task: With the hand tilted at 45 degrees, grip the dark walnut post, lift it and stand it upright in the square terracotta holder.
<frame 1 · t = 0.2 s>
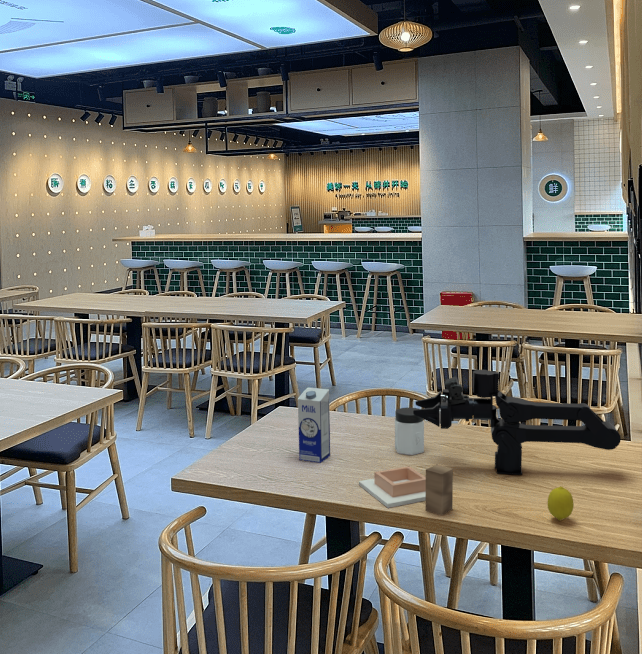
hand: (414, 407, 193), 17 cm above the table, tool horizontal, fingers open, 9 cm apart
jar: (409, 451, 208), on the table
lemon: (559, 521, 159), on the table
terracotta holder: (401, 490, 178), on the table
walnut post: (438, 509, 166), on the table
milk carton: (314, 458, 203), on the table
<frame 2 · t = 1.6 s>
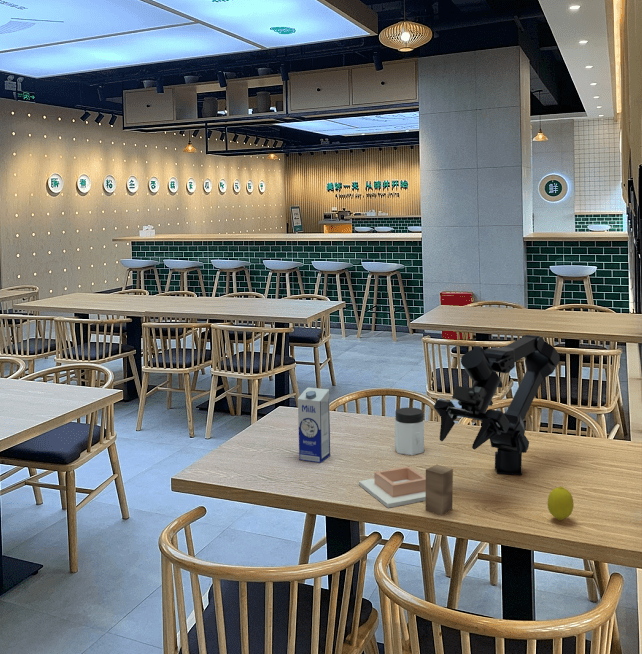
hand: (456, 444, 170), 14 cm above the table, tool tilted 45°, fingers open, 9 cm apart
nothing on the table moved.
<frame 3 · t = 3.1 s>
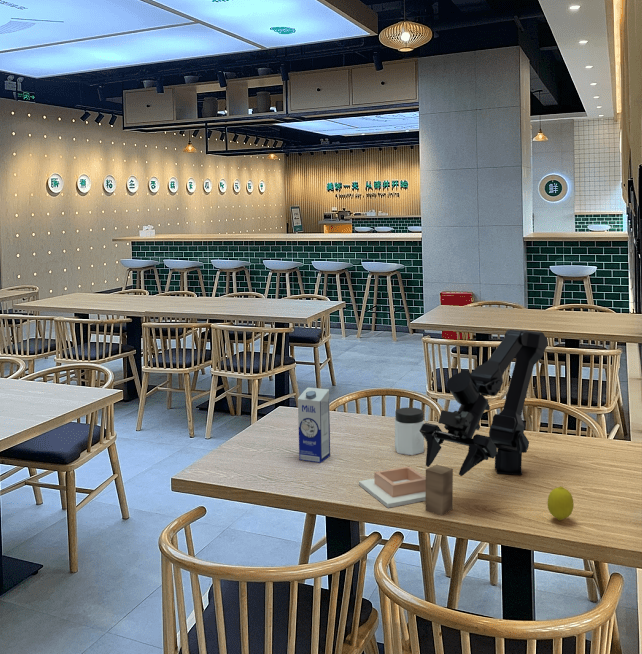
hand: (443, 470, 166), 9 cm above the table, tool tilted 45°, fingers open, 9 cm apart
nothing on the table moved.
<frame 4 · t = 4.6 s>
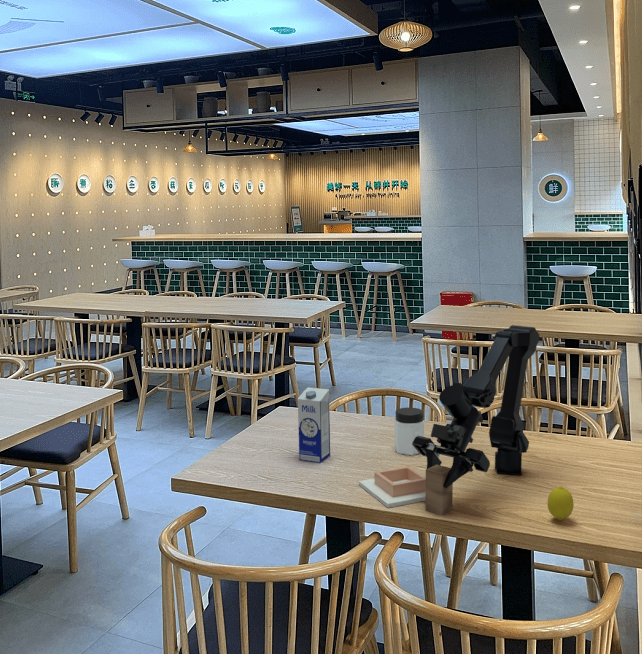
hand: (435, 484, 164), 7 cm above the table, tool tilted 45°, fingers closed on walnut post, 4 cm apart
walnut post: (438, 509, 166), on the table, touching gripper
everything else where it was.
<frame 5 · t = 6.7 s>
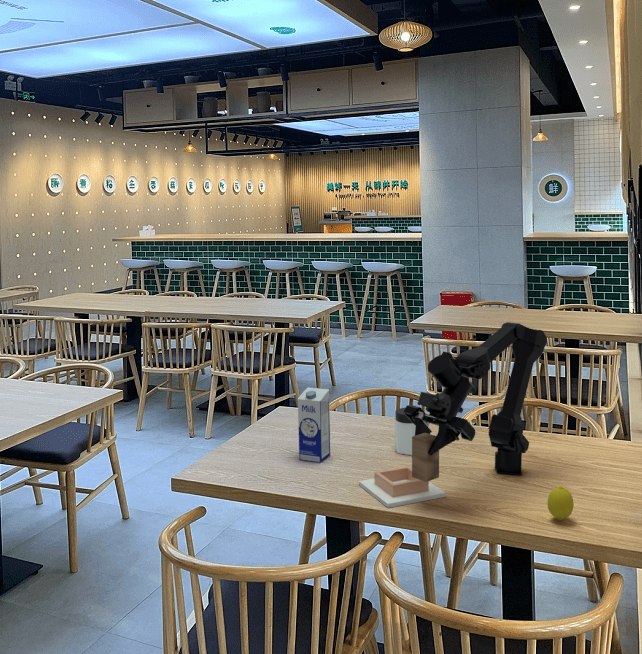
hand: (421, 451, 166), 13 cm above the table, tool tilted 45°, fingers closed on walnut post, 4 cm apart
walnut post: (425, 477, 168), point 7 cm above the table, touching gripper
everything else where it was.
when the fingers open (8 cm above the table, at t = 9.1 s): walnut post stays where it is, resting on terracotta holder.
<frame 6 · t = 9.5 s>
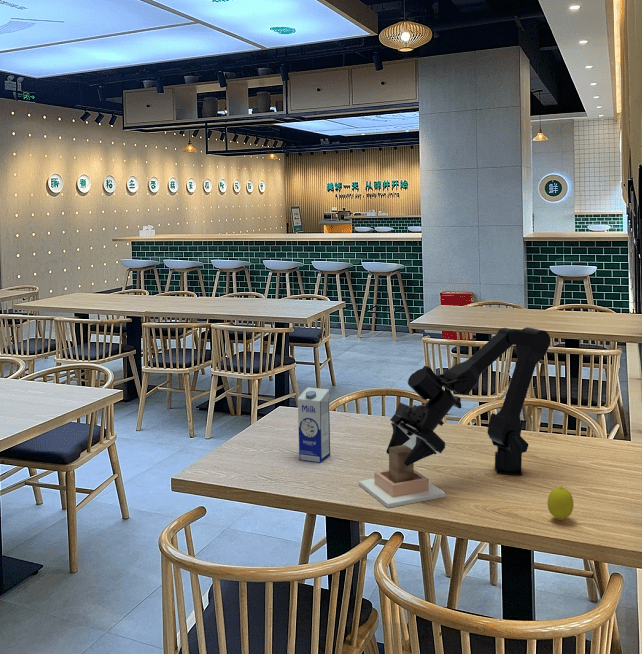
hand: (396, 458, 176), 9 cm above the table, tool tilted 45°, fingers open, 9 cm apart
walnut post: (401, 486, 178), point 1 cm above the table, touching terracotta holder
everything else where it was.
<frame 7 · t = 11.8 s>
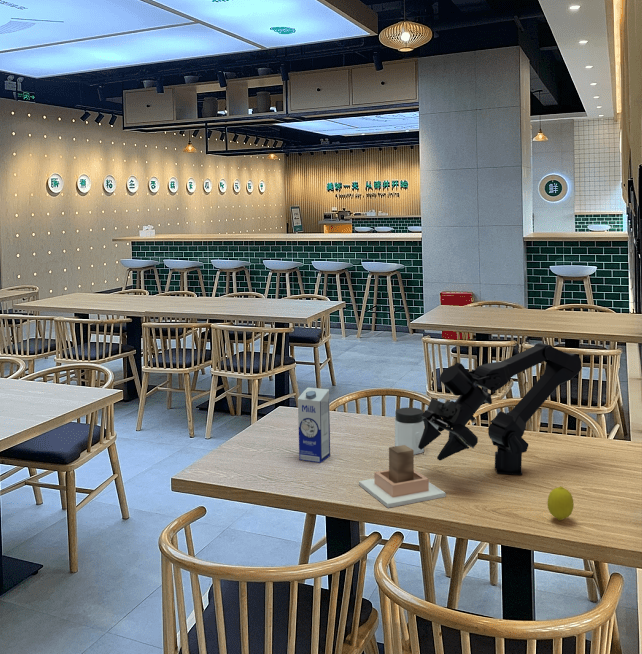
hand: (428, 453, 180), 8 cm above the table, tool tilted 45°, fingers open, 9 cm apart
nothing on the table moved.
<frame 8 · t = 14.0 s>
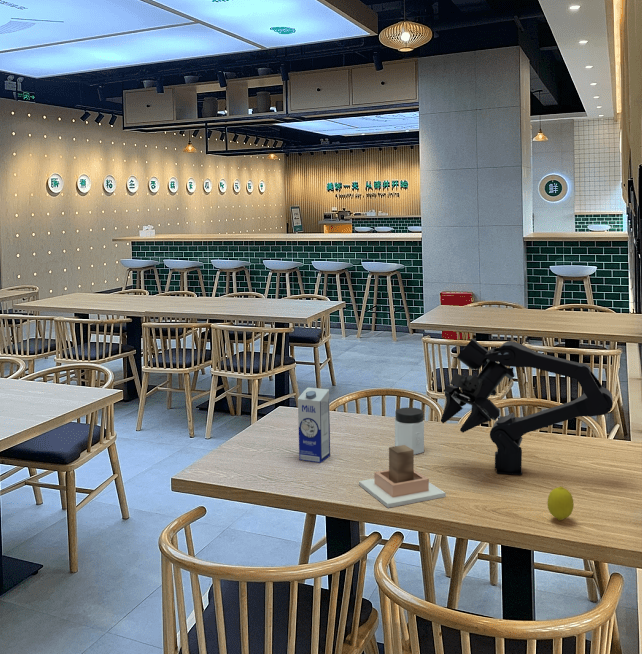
hand: (451, 426, 185), 14 cm above the table, tool tilted 45°, fingers open, 9 cm apart
nothing on the table moved.
at the end: walnut post 0.0 cm off-centre on the terracotta holder, point 1.0 cm above the terracotta holder's base; walnut post tilted 0°; the gripper is holding nothing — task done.
